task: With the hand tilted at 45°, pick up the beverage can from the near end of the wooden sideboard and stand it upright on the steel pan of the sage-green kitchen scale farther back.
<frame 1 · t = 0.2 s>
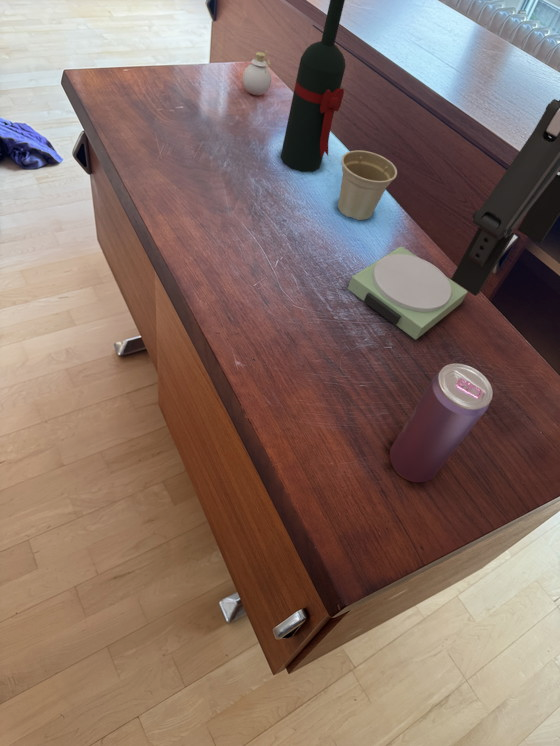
hand: (499, 259, 56), 24 cm above the sideboard, tool pointing down, fingers open, 13 cm apart
wine bottle: (303, 164, 107), on the sideboard
beverage can: (411, 463, 68), on the sideboard
flower pot: (354, 210, 100), on the sideboard
ornament: (256, 96, 121), on the sideboard
scale: (405, 296, 87), on the sideboard
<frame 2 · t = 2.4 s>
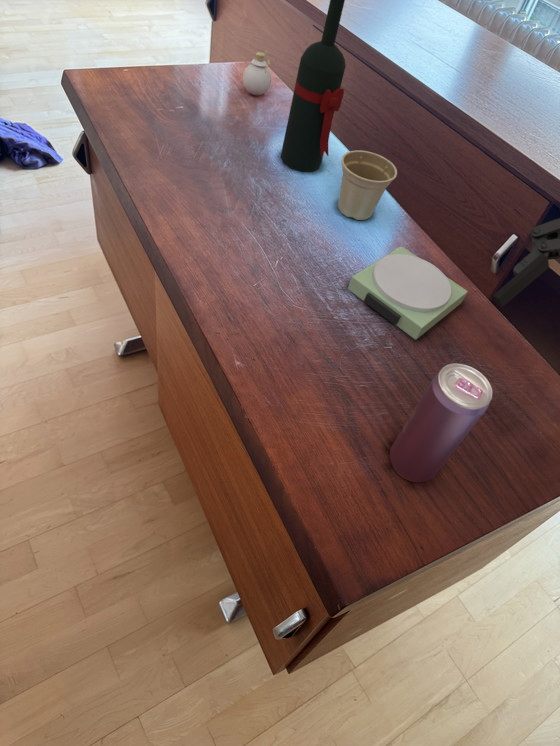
hand: (542, 344, 60), 17 cm above the sideboard, tool tilted 45°, fingers open, 13 cm apart
nothing on the sideboard moved.
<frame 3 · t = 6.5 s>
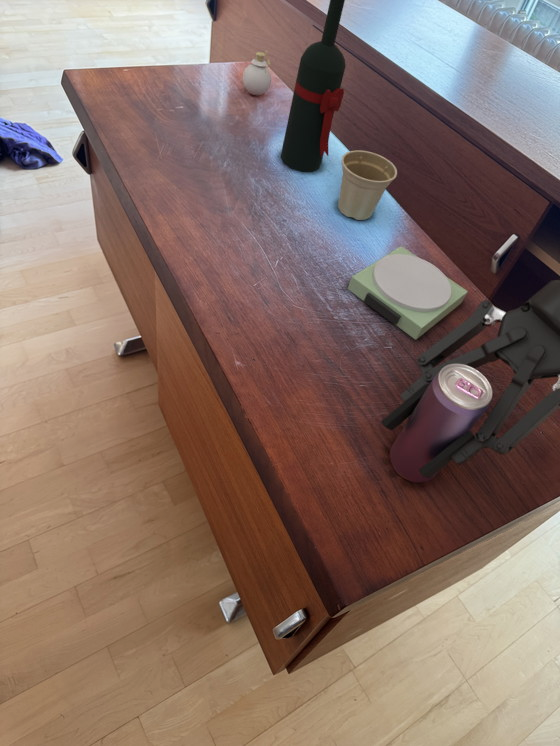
hand: (405, 449, 62), 5 cm above the sideboard, tool tilted 45°, fingers closed on beverage can, 6 cm apart
beverage can: (411, 463, 68), on the sideboard, touching gripper
everything else where it was.
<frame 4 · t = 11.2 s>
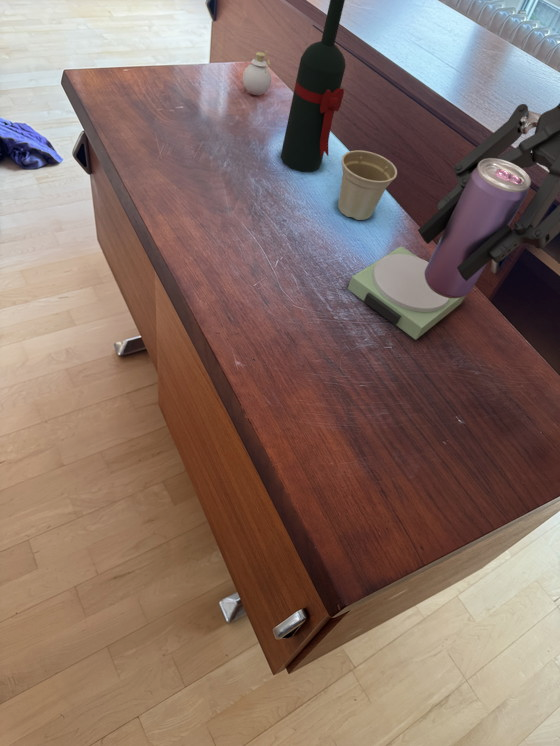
hand: (442, 255, 63), 19 cm above the sideboard, tool tilted 45°, fingers closed on beverage can, 6 cm apart
beverage can: (445, 285, 69), point 13 cm above the sideboard, touching gripper
everything else where it was.
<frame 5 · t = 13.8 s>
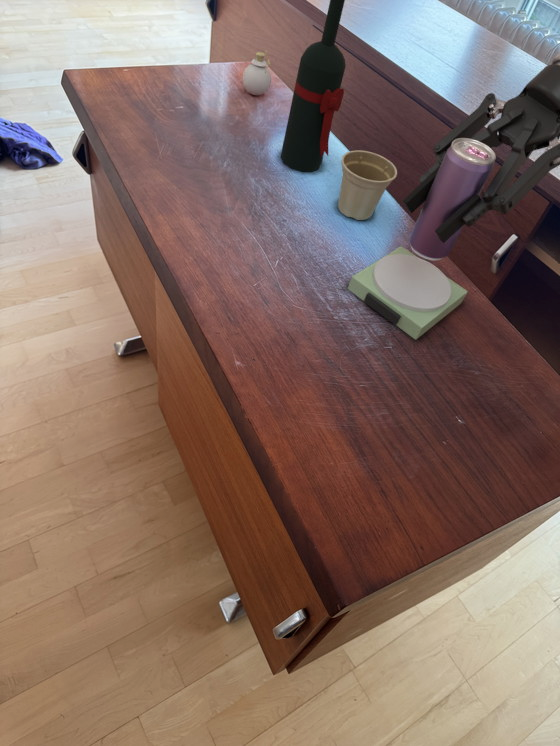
hand: (423, 221, 74), 15 cm above the sideboard, tool tilted 45°, fingers closed on beverage can, 6 cm apart
beverage can: (427, 249, 80), point 9 cm above the sideboard, touching gripper
everything else where it was.
when the fingers open (9 cm above the sideboard, at t = 15.8 s): beverage can stays where it is, resting on scale.
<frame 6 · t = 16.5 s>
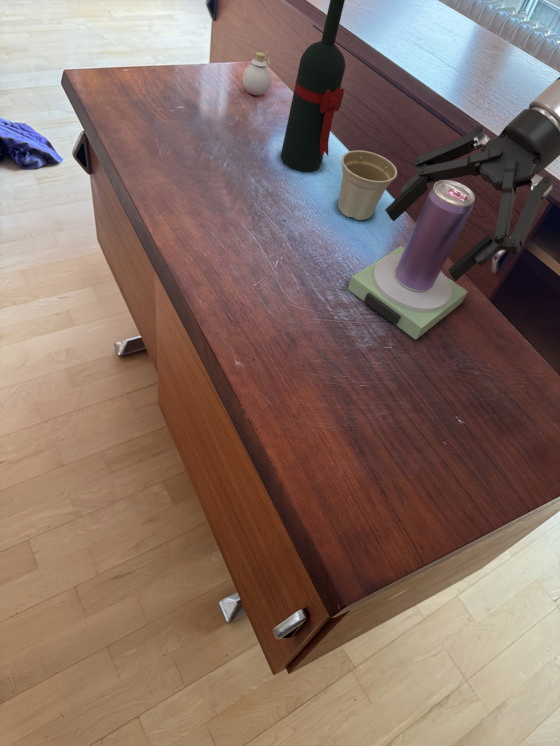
hand: (418, 244, 78), 10 cm above the sideboard, tool tilted 45°, fingers open, 13 cm apart
beverage can: (412, 281, 85), point 3 cm above the sideboard, touching scale
everything else where it was.
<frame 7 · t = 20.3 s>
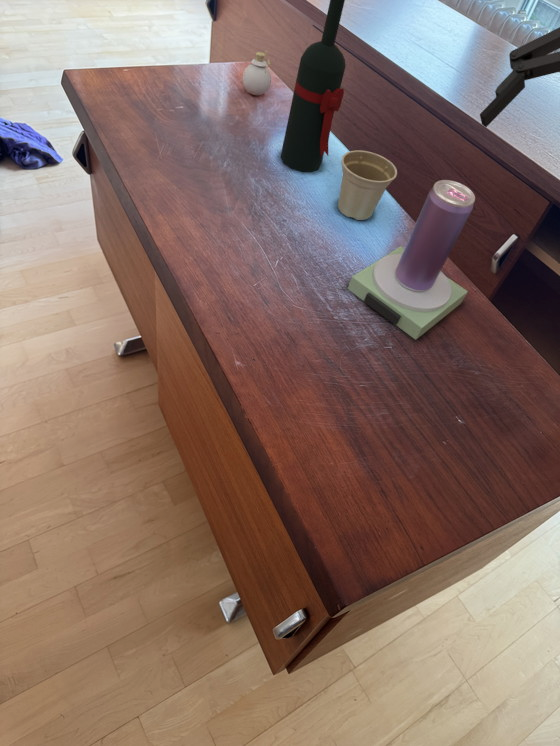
hand: (521, 152, 72), 24 cm above the sideboard, tool tilted 40°, fingers open, 13 cm apart
nothing on the sideboard moved.
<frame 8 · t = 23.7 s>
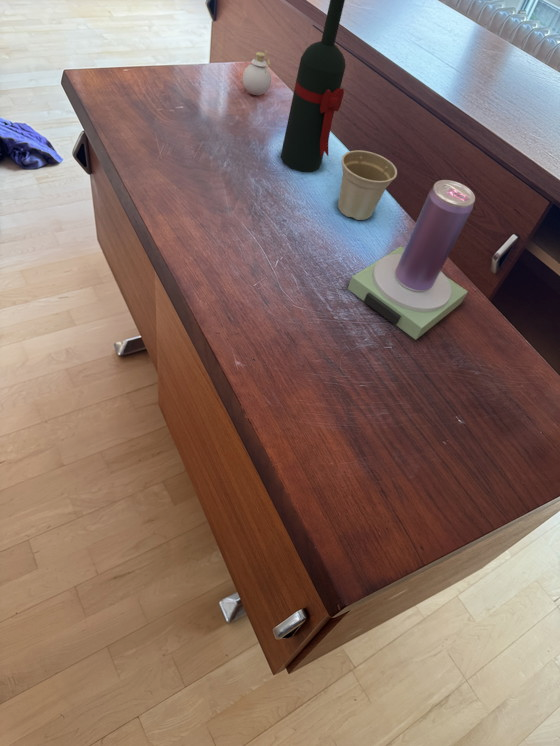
nothing on the sideboard moved.
at the end: beverage can inside the target area on the scale (0.0 cm from its centre), point 3.1 cm above the scale's base; beverage can tilted 0°; the gripper is holding nothing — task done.
